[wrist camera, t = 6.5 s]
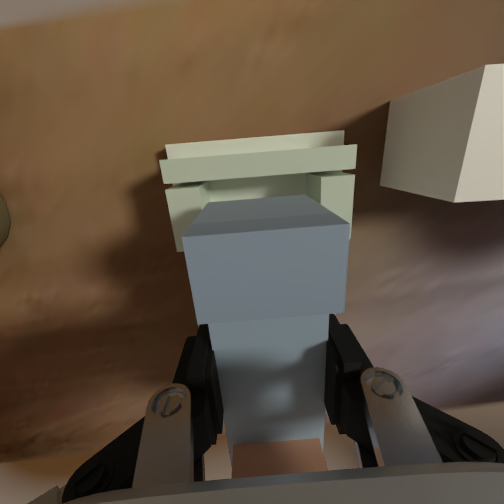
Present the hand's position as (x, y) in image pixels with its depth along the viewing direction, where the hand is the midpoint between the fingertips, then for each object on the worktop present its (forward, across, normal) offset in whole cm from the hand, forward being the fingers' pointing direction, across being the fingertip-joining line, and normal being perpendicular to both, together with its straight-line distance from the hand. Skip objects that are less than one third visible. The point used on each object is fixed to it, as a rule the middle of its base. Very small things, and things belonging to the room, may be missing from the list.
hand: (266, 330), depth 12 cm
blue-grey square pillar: (+1, 0, 0) cm, 1 cm away
